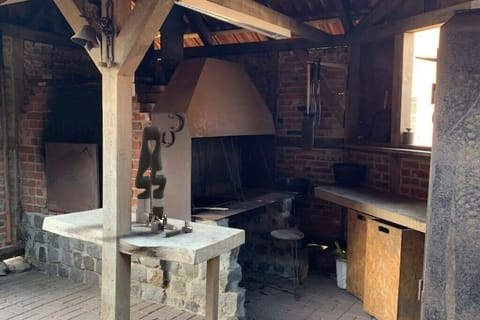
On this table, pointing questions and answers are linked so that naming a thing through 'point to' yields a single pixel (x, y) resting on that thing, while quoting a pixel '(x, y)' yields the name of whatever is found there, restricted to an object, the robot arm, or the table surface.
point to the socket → (156, 227)
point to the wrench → (150, 222)
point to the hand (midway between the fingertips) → (157, 229)
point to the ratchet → (181, 230)
